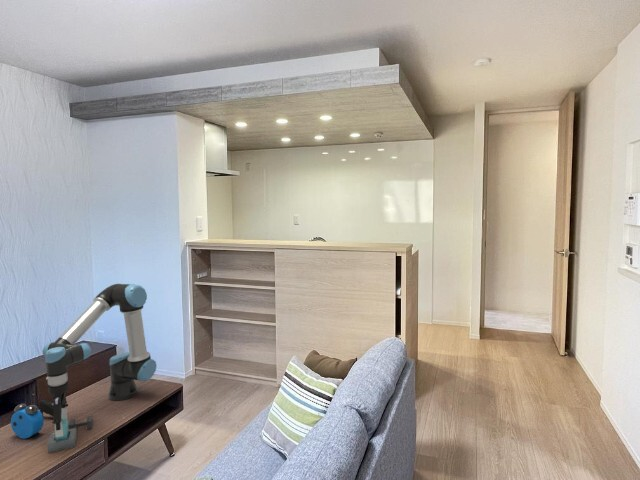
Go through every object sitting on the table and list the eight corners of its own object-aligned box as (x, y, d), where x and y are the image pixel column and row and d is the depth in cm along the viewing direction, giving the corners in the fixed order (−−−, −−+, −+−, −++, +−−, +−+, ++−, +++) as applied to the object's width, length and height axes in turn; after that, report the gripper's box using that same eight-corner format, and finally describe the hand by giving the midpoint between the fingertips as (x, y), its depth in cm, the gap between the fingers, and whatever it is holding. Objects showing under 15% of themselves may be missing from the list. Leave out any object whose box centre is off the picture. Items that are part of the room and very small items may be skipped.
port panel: (77, 436, 194) (76, 427, 194) (74, 447, 185) (73, 438, 185) (51, 441, 190) (51, 432, 190) (47, 453, 181) (47, 443, 181)
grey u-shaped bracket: (93, 422, 207) (92, 414, 206) (91, 428, 200) (91, 420, 200) (71, 426, 203) (70, 418, 202) (69, 433, 196) (68, 425, 196)
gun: (59, 431, 210) (65, 414, 208) (33, 414, 212) (40, 398, 210) (63, 428, 212) (70, 412, 211) (38, 412, 215) (44, 396, 213)
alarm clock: (45, 433, 197) (42, 403, 196) (33, 441, 191) (30, 409, 190) (23, 430, 200) (20, 400, 199) (11, 437, 194) (8, 406, 193)
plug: (69, 439, 190) (67, 416, 189) (67, 444, 186) (65, 421, 185) (58, 441, 189) (56, 418, 188) (56, 446, 185) (54, 423, 184)
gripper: (52, 374, 195) (56, 418, 197) (42, 396, 172) (46, 445, 174) (71, 371, 198) (74, 414, 200) (63, 392, 175) (67, 440, 177)
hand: (61, 428), depth 187 cm, fingers open, 13 cm apart
